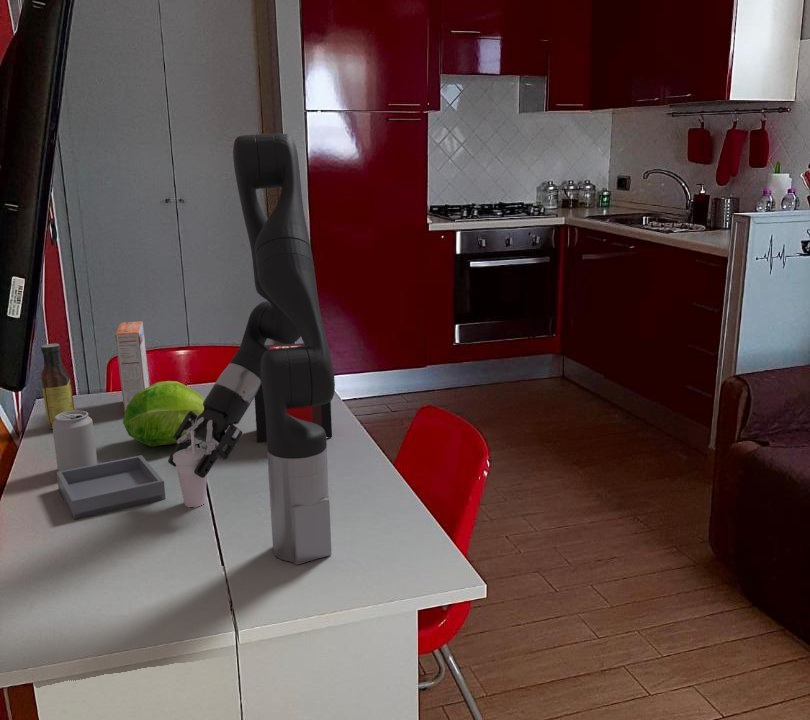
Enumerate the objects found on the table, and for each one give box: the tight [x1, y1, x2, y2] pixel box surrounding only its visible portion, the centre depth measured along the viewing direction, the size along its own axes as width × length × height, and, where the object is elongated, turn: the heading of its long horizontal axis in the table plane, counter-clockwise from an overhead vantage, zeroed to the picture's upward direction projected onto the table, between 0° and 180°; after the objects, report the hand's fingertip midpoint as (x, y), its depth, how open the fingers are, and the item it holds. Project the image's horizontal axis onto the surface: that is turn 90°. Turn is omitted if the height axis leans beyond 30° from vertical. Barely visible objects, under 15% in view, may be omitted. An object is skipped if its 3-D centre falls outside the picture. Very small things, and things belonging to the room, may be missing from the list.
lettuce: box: [122, 380, 206, 448], centre depth 178 cm, size 15×20×14 cm
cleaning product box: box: [254, 342, 333, 444], centre depth 182 cm, size 16×9×20 cm, turn 99°
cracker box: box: [114, 320, 151, 414], centre depth 203 cm, size 14×6×21 cm, turn 14°
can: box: [52, 410, 98, 472], centre depth 163 cm, size 8×8×12 cm
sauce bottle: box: [40, 343, 76, 430], centre depth 188 cm, size 7×6×20 cm
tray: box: [56, 454, 166, 520], centre depth 152 cm, size 16×16×4 cm
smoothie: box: [173, 430, 208, 508], centre depth 146 cm, size 6×6×14 cm
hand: (185, 470), depth 145 cm, fingers open, 7 cm apart
